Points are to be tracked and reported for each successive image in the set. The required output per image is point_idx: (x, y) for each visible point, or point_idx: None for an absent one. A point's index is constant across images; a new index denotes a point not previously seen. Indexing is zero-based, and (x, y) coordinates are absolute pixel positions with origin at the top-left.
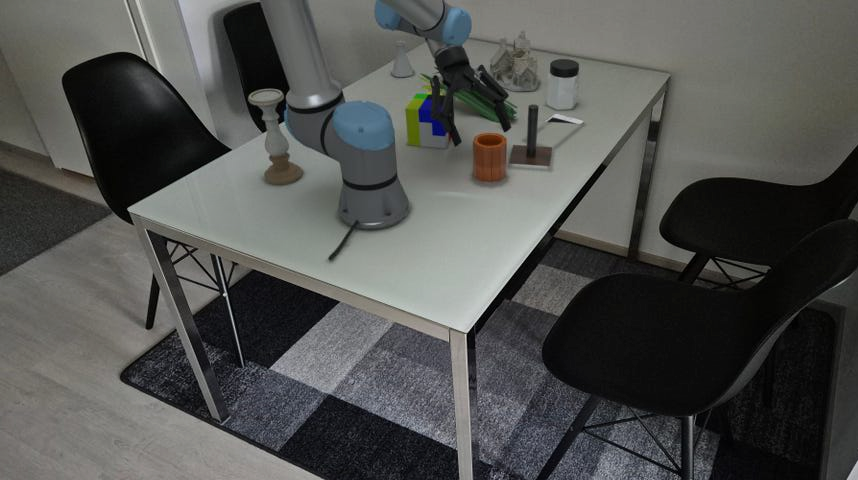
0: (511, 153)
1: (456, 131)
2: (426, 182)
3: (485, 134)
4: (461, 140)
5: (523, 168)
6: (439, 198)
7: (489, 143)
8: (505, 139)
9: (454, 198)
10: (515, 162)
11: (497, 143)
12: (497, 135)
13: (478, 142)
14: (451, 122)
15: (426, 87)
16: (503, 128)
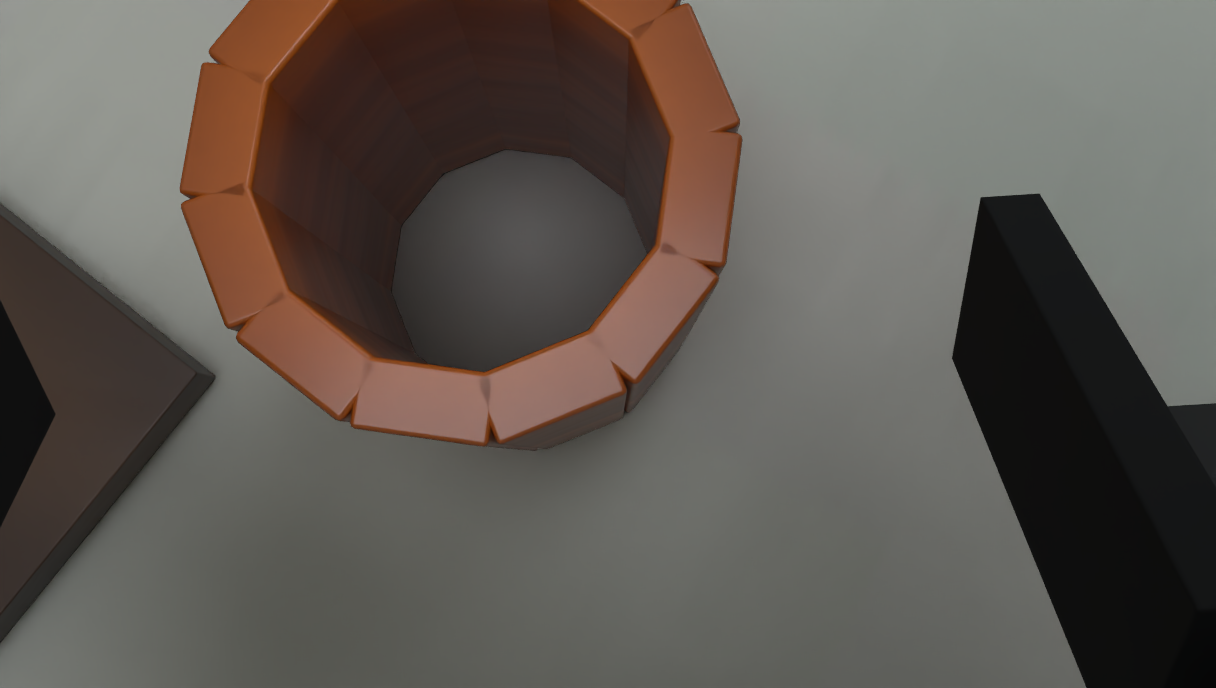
0: (34, 564)
1: (1072, 322)
2: None
3: (416, 378)
4: (988, 208)
5: None
6: (1163, 178)
7: (389, 357)
8: (228, 51)
9: (1028, 105)
10: (120, 350)
11: (304, 255)
12: (260, 246)
13: (667, 178)
14: (1187, 463)
15: None
16: (21, 433)
